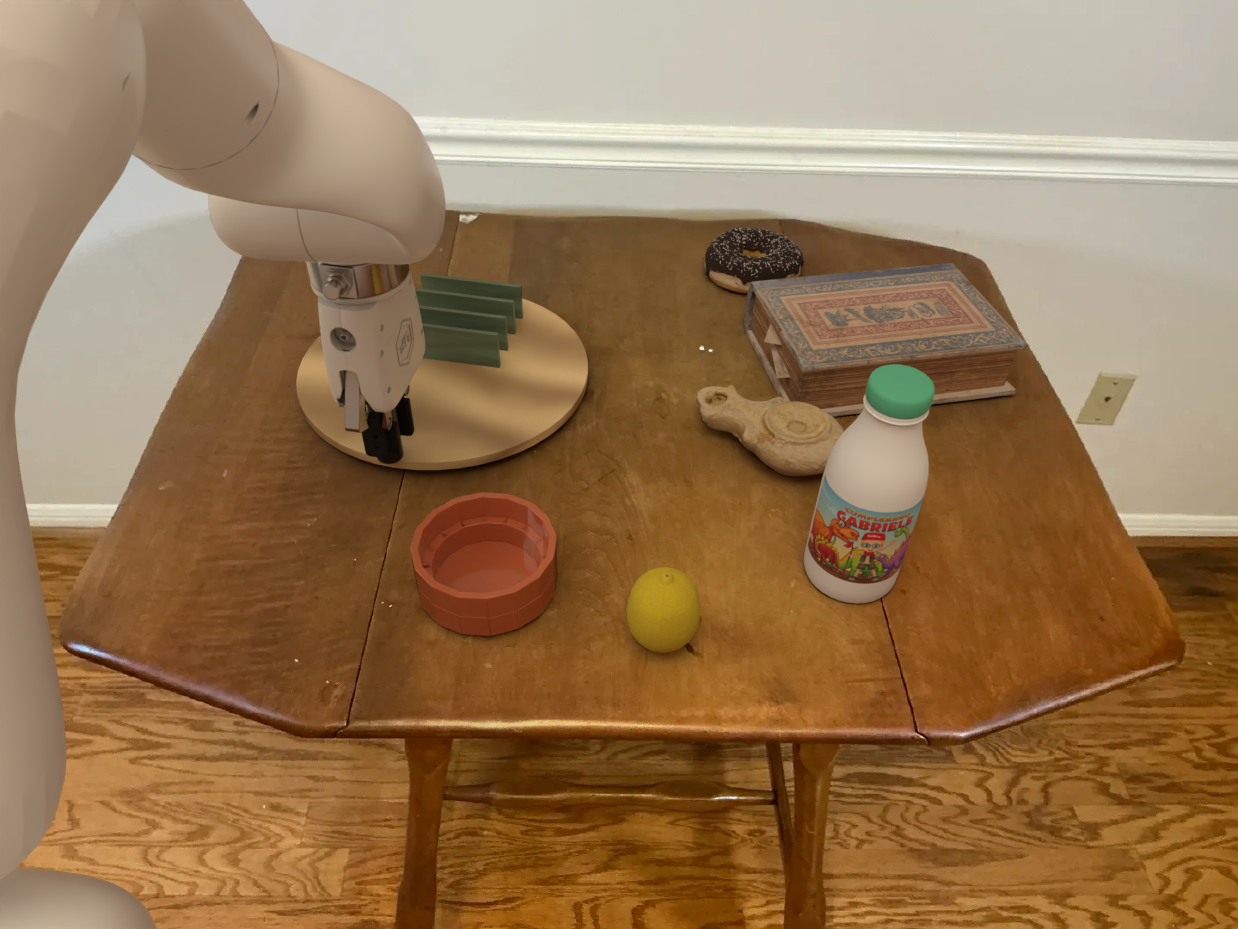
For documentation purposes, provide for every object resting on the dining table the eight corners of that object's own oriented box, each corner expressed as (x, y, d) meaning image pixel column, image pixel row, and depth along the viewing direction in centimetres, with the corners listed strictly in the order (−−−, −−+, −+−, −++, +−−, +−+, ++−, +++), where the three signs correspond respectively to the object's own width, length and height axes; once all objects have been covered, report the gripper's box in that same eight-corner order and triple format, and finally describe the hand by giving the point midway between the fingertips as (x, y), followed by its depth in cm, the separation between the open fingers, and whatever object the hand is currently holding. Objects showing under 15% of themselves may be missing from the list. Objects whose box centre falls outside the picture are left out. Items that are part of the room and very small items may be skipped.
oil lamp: (693, 412, 94) (697, 372, 91) (837, 422, 94) (847, 382, 90) (691, 486, 86) (696, 445, 83) (849, 496, 86) (860, 456, 83)
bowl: (512, 660, 72) (508, 619, 68) (390, 607, 75) (381, 565, 72) (580, 561, 79) (580, 520, 76) (467, 517, 83) (462, 476, 79)
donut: (702, 248, 118) (704, 219, 115) (796, 252, 118) (801, 223, 115) (704, 297, 110) (707, 267, 107) (806, 301, 110) (811, 271, 107)
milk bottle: (790, 542, 82) (831, 353, 68) (874, 532, 83) (931, 344, 69) (820, 612, 76) (871, 421, 62) (910, 600, 77) (979, 410, 64)
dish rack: (550, 496, 83) (547, 427, 78) (242, 451, 87) (219, 381, 81) (611, 313, 105) (613, 248, 100) (363, 282, 108) (351, 218, 103)
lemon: (626, 673, 71) (630, 606, 66) (623, 615, 75) (626, 547, 70) (699, 672, 71) (709, 605, 66) (692, 614, 75) (701, 546, 70)
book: (1034, 343, 93) (792, 370, 89) (1013, 398, 97) (782, 425, 93) (954, 257, 105) (738, 277, 101) (939, 309, 110) (732, 330, 105)
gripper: (367, 326, 66) (401, 513, 78) (437, 217, 77) (457, 394, 90) (264, 314, 66) (315, 501, 79) (350, 207, 78) (381, 384, 91)
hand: (390, 442), depth 84 cm, fingers closed on dish rack, 2 cm apart
